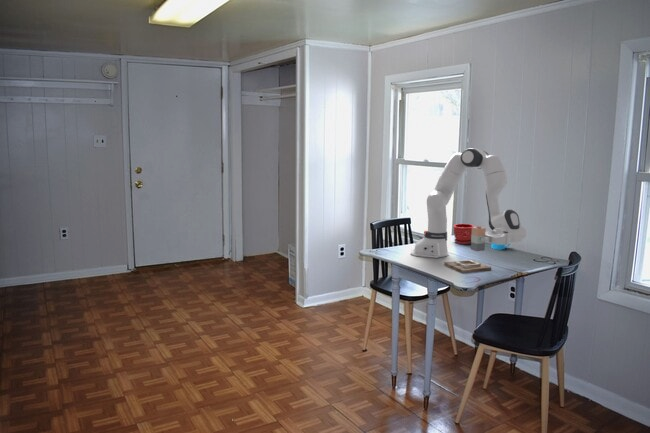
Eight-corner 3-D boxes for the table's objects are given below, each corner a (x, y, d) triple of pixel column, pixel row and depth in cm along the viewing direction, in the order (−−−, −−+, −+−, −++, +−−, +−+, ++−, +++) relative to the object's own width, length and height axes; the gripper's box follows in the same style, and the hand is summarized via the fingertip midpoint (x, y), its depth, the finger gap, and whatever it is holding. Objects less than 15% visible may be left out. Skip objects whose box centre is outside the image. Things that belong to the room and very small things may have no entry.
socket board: (444, 264, 291) (444, 260, 290) (471, 262, 296) (471, 257, 296) (462, 273, 274) (462, 268, 273) (491, 269, 280) (491, 265, 279)
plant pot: (451, 240, 353) (452, 223, 351) (471, 240, 351) (472, 223, 349) (454, 244, 340) (455, 226, 338) (475, 245, 339) (475, 227, 337)
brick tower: (470, 249, 276) (471, 225, 274) (478, 248, 277) (480, 225, 275) (476, 251, 271) (477, 227, 269) (484, 250, 273) (485, 226, 271)
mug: (493, 249, 326) (494, 237, 325) (489, 246, 334) (490, 234, 333) (512, 249, 326) (513, 236, 325) (508, 246, 334) (509, 234, 333)
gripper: (487, 226, 286) (465, 228, 282) (511, 234, 267) (488, 235, 263) (486, 237, 288) (465, 239, 283) (510, 245, 268) (488, 247, 264)
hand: (476, 237), depth 273 cm, fingers closed on brick tower, 5 cm apart
